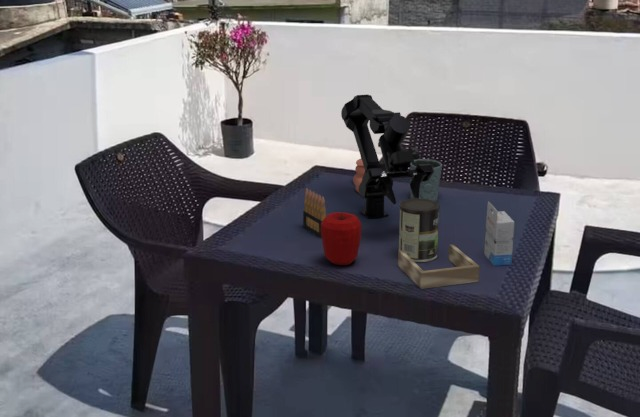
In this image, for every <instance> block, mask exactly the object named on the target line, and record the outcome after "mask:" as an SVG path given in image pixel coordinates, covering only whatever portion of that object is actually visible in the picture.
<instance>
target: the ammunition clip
mask: <svg viewBox="0 0 640 417" xmlns="http://www.w3.org/2000/svg"><path fill="white" fill-rule="evenodd" d="M303 205H304V207H303V208H304V210H303V213H302V214H303V215H302V216H303V219H302V220H303V221H302V222H303V223H302V228H303V227H304V229H305V230H306V231H308V230H309V231H308V232H310V231H311V232H310V233H312V234H313V233H314V235H315V236H316V237H318V238H320V239H322V236H321V222H322V221H323V220H324V218H325V217H326V216H327V210H326V201H325V197H324V195H322V196H321V194H318V192H316V193H315V191H314V190H313V191H312V190H311V189H308V188H307V187H306V188H305V193H304V202H303Z"/></svg>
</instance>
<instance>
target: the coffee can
mask: <svg viewBox="0 0 640 417" xmlns="http://www.w3.org/2000/svg"><path fill="white" fill-rule="evenodd" d="M398 205H399V227H398V230H399V232H398V234H399V235H398V236H399V237H398V251H400V250H402V251H403V252H404V253H405V254H406V255H407V256H408V257H410V258H411V259H412V260H413V261H414V262H415V263H425V262H432V261H434V260H436V259H437V258H438V244H439V242H438V241H439V220H440V219H439V218H440V208H441V205H440V203H439V202H438V201H433V200H429V199H422V198H414V199H410V198H408V199H404V200H401V201H400V202H399V203H398Z"/></svg>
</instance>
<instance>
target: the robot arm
mask: <svg viewBox="0 0 640 417" xmlns="http://www.w3.org/2000/svg"><path fill="white" fill-rule="evenodd" d="M340 113H341V114H340V116H341V118H342V120H343V122H344V124H345V127H346V128H347V129H348V130H349V131H351V132H352V133H353V135H354V139H355V142H356V146H357V149H358V152H359V155H360V159H362V162H363V165H364V168H365V172H364V175H363V178H362V182H361V183H360V185H359V193H358V195H360V196H361V198H363V199H365V200H364V201H365V202H364V203H365V204H364V210H360V213H361V214H362V215H363V216H365V217H366V218H367V219H375V218H376V219H378V218H384V217H389V215H390V214H389V213H387V212H386V211H385V197H386V198H387V199H388V200H389V201H390V202H391V203H392V205H396V204H397V201H396V200H397V199H396V196H395V195H396V194H395V193H394V190H393V189H394V188H393V189H392V186H393V185H394V179H405V178H411V180H412V181H411V183H410V182H409V186H410V187H411V190H412V193H413V196H414V198H419V189H420V184H421V182H426V181H428V180H429V179H430V177H431V176H432V174H433V173H434V169H433V166H432V165H431V164H419V165H418V166H417V167H416V169H415V170H410V166H411V162H414V160H418V159H420V152H419V149H418V147H416V146H415V147H410V148H409V150H405V149H403V147H402V144H401V143H403V142H404V140H405V138H406V136H407V135H408V133H409V131H410V129H411V127H412V126H411V122H410V121H409V119H408V118H407V117H406V116H403V115H402V114H401V112H399V111H398V112H394V111H391V110H389V109H388V110H387V109H383V108H382V107H381V106H380V105H379V104H378V103H377V102H376V101H375V100H374V99H373V96H372V95H370V94H357V95H354V96H353V98H352V99H351V100H349V101H347V102H345V104H344V105H343V107H342V108H341V112H340ZM368 124H369V126H368ZM369 128H370V129H369ZM370 131H372V133H373V134H374V135H380V137H379V139H378V143H377V147H378V148H380V152H381V154H382V158H383V159H382V163H381V162H380V160H379V157H378V155H377V151H376V148H375V144H374V142H373V138H372V135H371V132H370ZM408 168H409V169H408ZM410 187H409V188H410Z"/></svg>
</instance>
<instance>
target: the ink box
mask: <svg viewBox="0 0 640 417" xmlns="http://www.w3.org/2000/svg"><path fill="white" fill-rule="evenodd" d="M486 209H487V210H486V221H485V234H484V235H485V236H484V237H485V238H484V253H483V254H484V256H485V257H486V258H487V259H488V260H489V262H490V263H491V265H492V266H495V267H497V266H512V261H513V260H512V259H513V249H514V248H513V247H514V246H513V245H514V233H515V221H514V220H513V218H512V217H511V216H509V214H507V212H506V211H505V210H502V211H501V210H500V211H498V210H497V209H496V208H495V206H494V205H493V203H491V202H490V201H489V200H488V201H487V208H486Z"/></svg>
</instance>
